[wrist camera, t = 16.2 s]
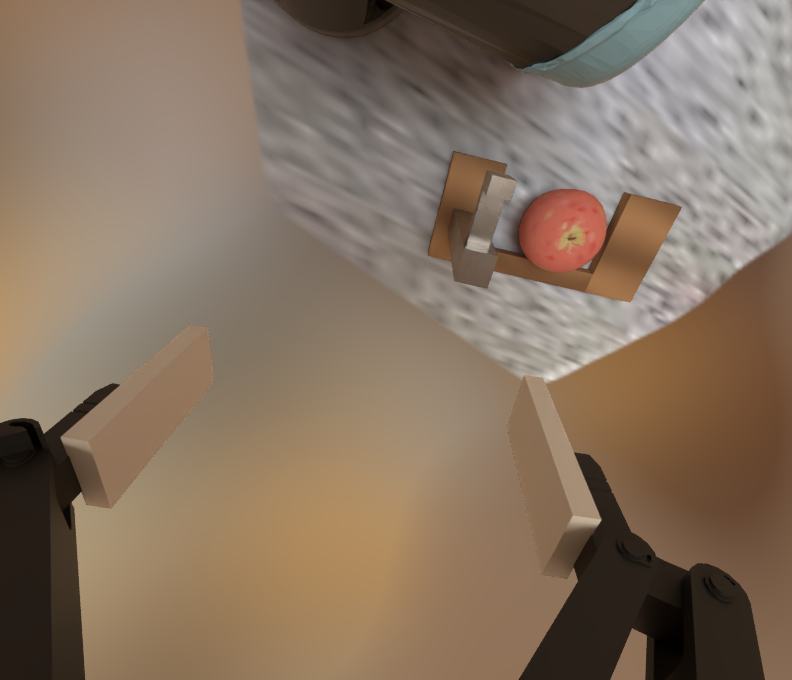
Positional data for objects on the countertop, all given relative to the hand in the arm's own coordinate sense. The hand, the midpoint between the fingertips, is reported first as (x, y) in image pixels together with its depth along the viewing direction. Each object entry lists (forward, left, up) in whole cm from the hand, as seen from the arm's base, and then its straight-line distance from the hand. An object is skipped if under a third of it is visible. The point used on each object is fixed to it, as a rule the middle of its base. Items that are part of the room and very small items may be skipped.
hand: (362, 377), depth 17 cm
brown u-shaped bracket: (-3, +14, -29) cm, 32 cm away
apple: (-3, +14, -29) cm, 33 cm away
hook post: (-4, +6, -27) cm, 28 cm away
